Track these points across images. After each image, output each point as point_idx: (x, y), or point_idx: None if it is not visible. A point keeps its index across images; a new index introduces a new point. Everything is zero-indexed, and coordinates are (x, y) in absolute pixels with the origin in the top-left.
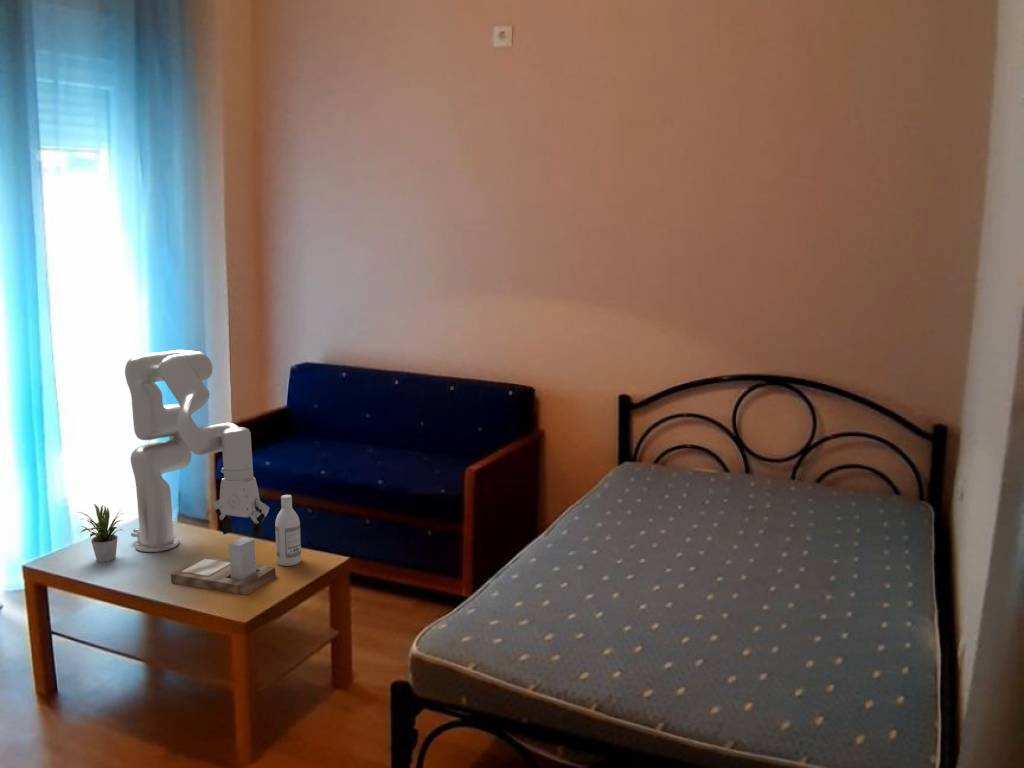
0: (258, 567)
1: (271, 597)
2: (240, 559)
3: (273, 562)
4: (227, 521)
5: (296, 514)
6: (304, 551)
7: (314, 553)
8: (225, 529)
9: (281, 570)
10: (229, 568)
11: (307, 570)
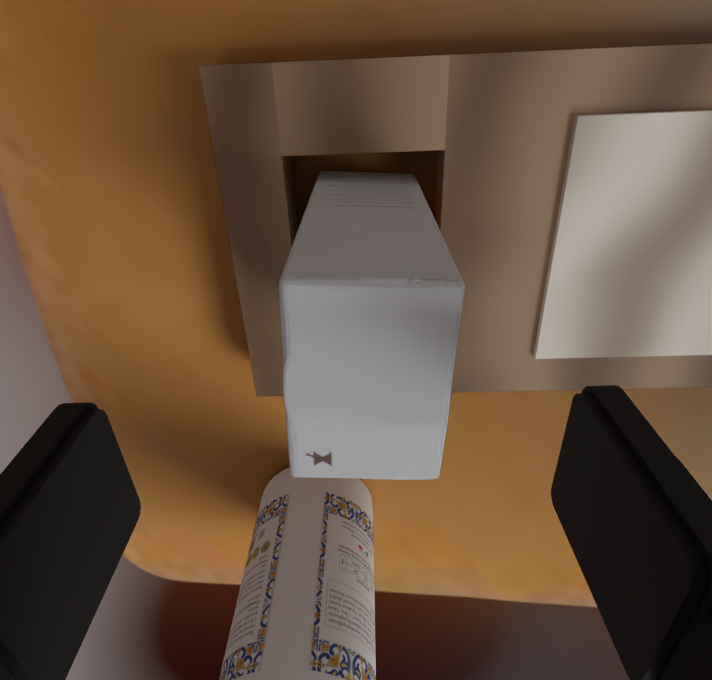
0: None
1: (43, 102)
2: (309, 225)
3: None
4: (645, 591)
5: None
6: None
7: None
8: (603, 440)
9: (285, 423)
10: (505, 293)
11: (176, 458)
